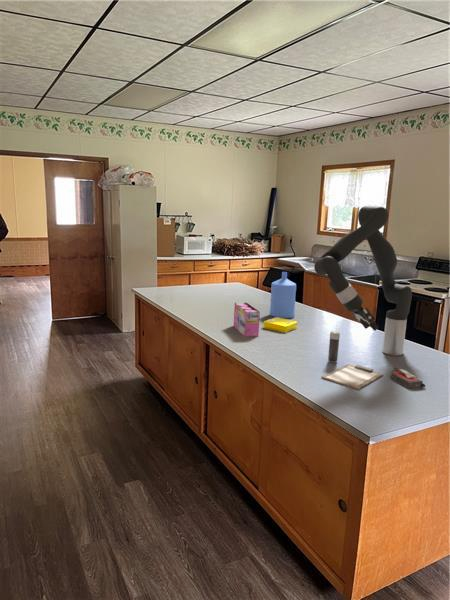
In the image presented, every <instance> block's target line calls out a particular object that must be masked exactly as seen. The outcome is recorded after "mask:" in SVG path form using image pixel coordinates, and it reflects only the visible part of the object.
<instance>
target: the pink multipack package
mask: <svg viewBox="0 0 450 600" xmlns="http://www.w3.org/2000/svg"><path fill="white" fill-rule="evenodd" d="M233 310H234V312H233V327H234V328H235V329H236V330H238V332H239V333H241V335H243V336H244V337H245V338H248V337H259V335H260V334H259V332H260V331H259V330H260V315H261V313H260V311H259V310H258V309H257V308H255V307H254V306H252V305H251V304H249V303H248V302H244V303H237V302H234V308H233Z"/></svg>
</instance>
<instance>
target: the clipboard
mask: <svg viewBox="0 0 450 600" xmlns="http://www.w3.org/2000/svg"><path fill="white" fill-rule="evenodd" d="M383 376H385V374H384V373H381V372H377V371H374V368H370V367H367V366H363V365H360V364H356V365H352V364H349V363H348V364H345V365H344V366H341V367H339V368H337V369H335V370H333V371H330V372H329V373H327V374H324V375H323V376H321V377H320V379H323V380H326V381H329V382H332V383H336V384H339V385H342V386H345V387H347V388H351V389H354V390H357V391H360V390H362V389H364V388H365V387H367V386H369V385H370V384H371V383H373V382H375V381H377V380H378V379H380V378H382V377H383Z"/></svg>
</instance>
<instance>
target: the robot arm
mask: <svg viewBox="0 0 450 600" xmlns="http://www.w3.org/2000/svg"><path fill="white" fill-rule="evenodd" d="M357 214H358V215H357V219H358V224H359V227H357V228H356V229H354V230H353V231H350V232H349V233H347V234H345V235H343V236H342V237H341V238H340V239H339V240H337V242H336V243H334V245H333V246H332V247H331V248H330V249H329V250H328V251H326V252H325V253H324V254H322V255H321V256H320V257H319V258H317V260H316V261H315V263H314V267H313V268H314V271H315V273H316V274H318V275H319V276H327V277H328V279H329V282H328V284H329V287H330V289H331V290H332V291H333V292H334V294H335V295H336V297H337V298H338V300H339V301H340V302H341V305H343V307H344V308H345V310H346V311H347V312H348V313H349V312H350V313H351V314H352V316H353V318H354V319H355V320H356V321H358V322H359V323H361V325H362V326H363V327H364V329H366V330H367V329H368V328H369V327H370V328H371V329H372V331H377V330H378V329H379V326H378V324H377V323H376V322H375V319H376V318H375V317H374V315H373V314H372V313H371V312H370V311H369V309H368V307H363V303H364V300H363V299H362V297H361V295H360V294H359V293H358V292H357V291H356V289H355V288H354V286H352V284H351V283H350V282H349V280H348V279H347V278H346V277H345V275H344V272H343V270H342V267H341V265H340V262H342V261H344V260H345V259H346V258H347V257H348V256H349V255H350V254H351V253H352V252H353V251H354V250H355V249H356V248H357V247H358V246H359V245H360V244H362V243H363V242H365V240H367V243H368V246H369V248H370V251H371V254H372V257H373V260H374V263H375V266H376V268H377V271H378V275H379V277H380V281H381V285H382V290H383V294H384V298H385V300H386V301H387V302H388V303H392V304H396V306H395V309H389V310H387V311H386V313H385V314H386V315H385V324H384V331H383V332H384V336H383V342H382V352H383V354H386V355H390V356H396V357H397V356H402V355H404V354H403V353H404V347H405V346H404V345H405V339H406V330H407V322H408V315H409V314H410V310H411V309H410V308H411V304H412V298H413V291H412V288H411V287H410V286H409V285H404V284H399V283H397V282H396V281H395V277H394V273H395V270H396V267H397V265H398V259H397V255H396V251H395V249H394V247H393V246H392V244H391V243H390V242H389V241H388V239H387V238H386V237H385V236H384V235H383V234H382V233H381V231H380V230H381V229H382V228H383V227H384V226H385V225H386V223H387V222H388V219H389V212H388V210H387V208H385V207H384V206H378V205H364V206H362V207H361V208H360V209H359V210H358V213H357Z"/></svg>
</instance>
